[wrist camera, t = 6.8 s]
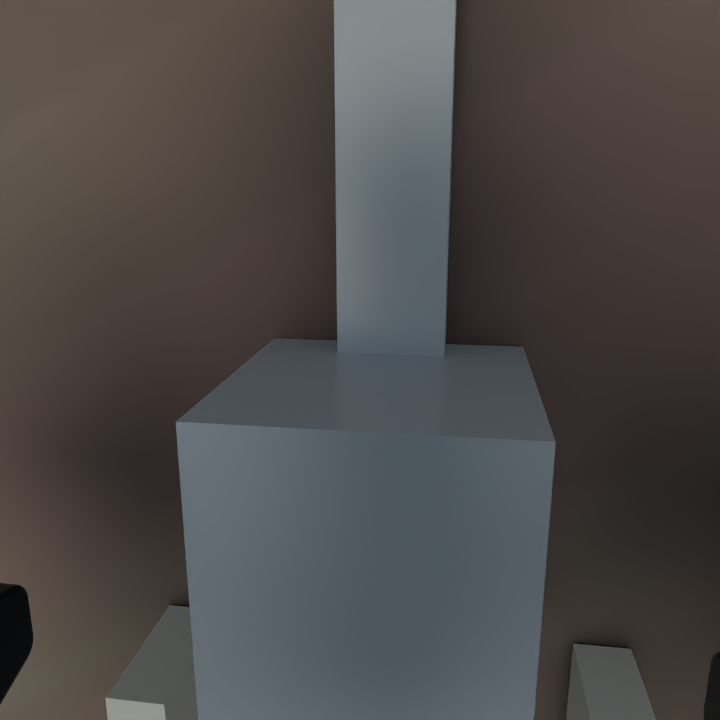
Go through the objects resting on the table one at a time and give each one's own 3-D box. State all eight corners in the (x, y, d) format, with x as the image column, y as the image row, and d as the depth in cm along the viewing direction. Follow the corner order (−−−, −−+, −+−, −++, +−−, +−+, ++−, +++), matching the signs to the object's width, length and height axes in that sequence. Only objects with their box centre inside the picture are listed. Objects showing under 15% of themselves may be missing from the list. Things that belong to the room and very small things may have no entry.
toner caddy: (506, 613, 15) (525, 821, 10) (282, 594, 16) (202, 778, 11) (558, -212, 11) (630, -513, 6) (256, -188, 12) (109, -442, 7)
